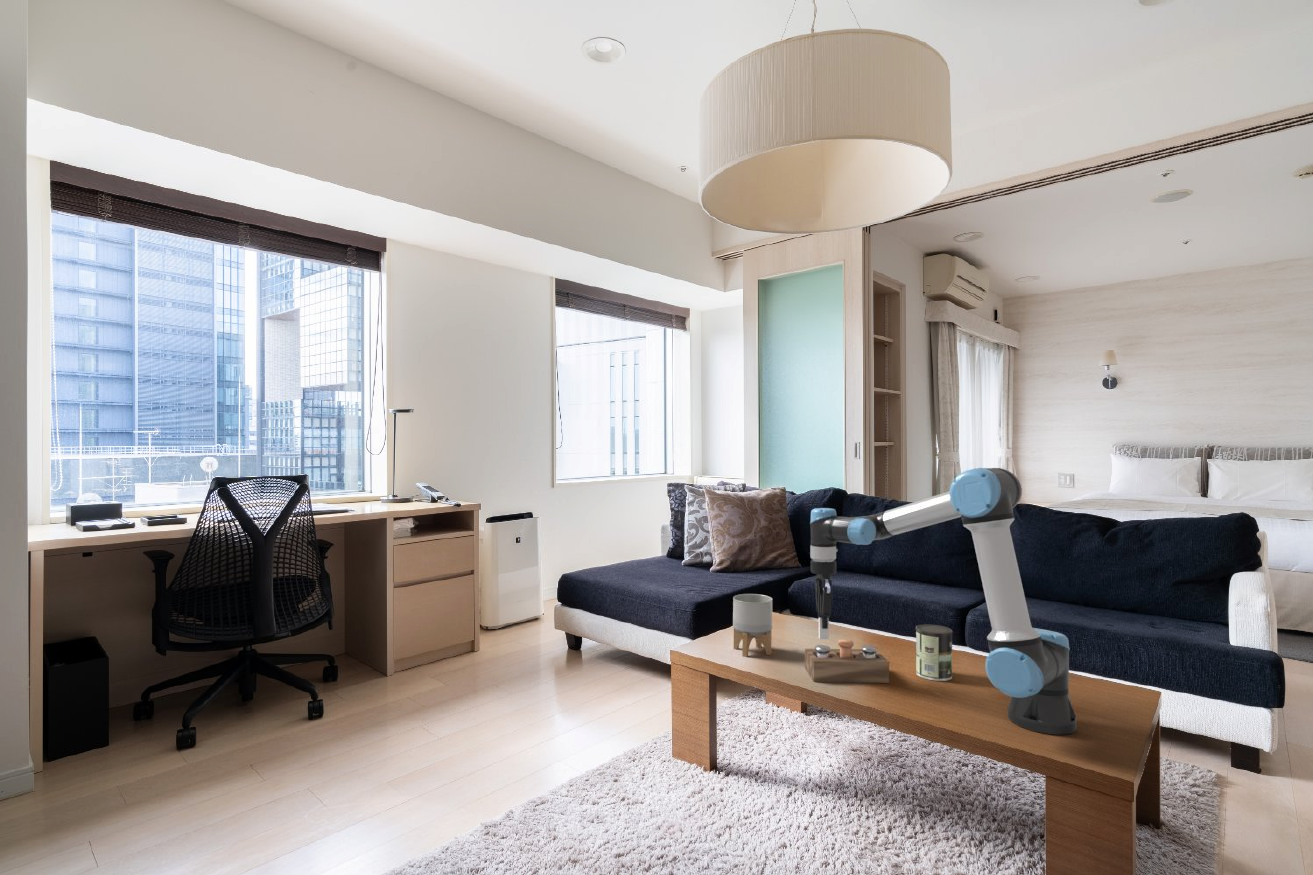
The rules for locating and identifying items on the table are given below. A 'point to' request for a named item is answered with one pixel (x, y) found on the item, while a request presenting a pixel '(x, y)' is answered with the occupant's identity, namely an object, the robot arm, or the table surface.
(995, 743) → the table surface
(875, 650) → the grey plug
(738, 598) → the planter
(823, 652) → the grey plug
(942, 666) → the coffee can
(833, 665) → the wooden slotted block
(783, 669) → the table surface
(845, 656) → the terracotta plug
